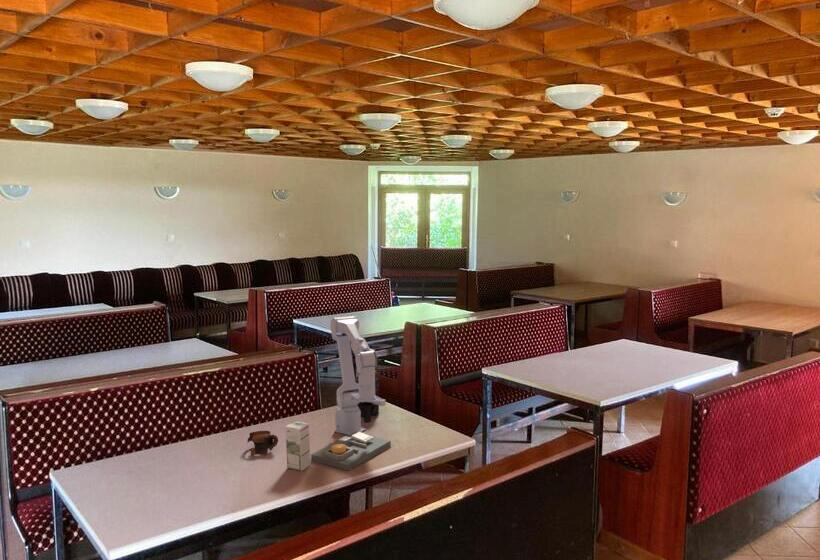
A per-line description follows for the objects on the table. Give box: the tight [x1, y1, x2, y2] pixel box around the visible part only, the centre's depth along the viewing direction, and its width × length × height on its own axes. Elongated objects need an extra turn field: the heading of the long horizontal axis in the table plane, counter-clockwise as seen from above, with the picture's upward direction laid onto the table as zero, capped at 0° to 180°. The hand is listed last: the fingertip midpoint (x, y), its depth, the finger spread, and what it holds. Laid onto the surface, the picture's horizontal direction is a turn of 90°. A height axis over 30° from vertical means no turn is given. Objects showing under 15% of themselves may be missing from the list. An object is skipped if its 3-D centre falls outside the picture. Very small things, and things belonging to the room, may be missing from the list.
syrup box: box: [285, 421, 311, 472], centre depth 199 cm, size 6×6×14 cm
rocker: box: [351, 432, 374, 443], centre depth 215 cm, size 6×4×1 cm
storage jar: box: [354, 375, 380, 418], centre depth 249 cm, size 10×10×15 cm
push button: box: [331, 444, 346, 455], centre depth 204 cm, size 5×5×2 cm
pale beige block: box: [337, 435, 352, 447], centre depth 212 cm, size 3×4×2 cm
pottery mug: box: [247, 430, 279, 456], centre depth 214 cm, size 12×10×8 cm
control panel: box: [310, 432, 392, 471], centre depth 210 cm, size 16×24×3 cm, turn 147°
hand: (367, 422), depth 213 cm, fingers closed
